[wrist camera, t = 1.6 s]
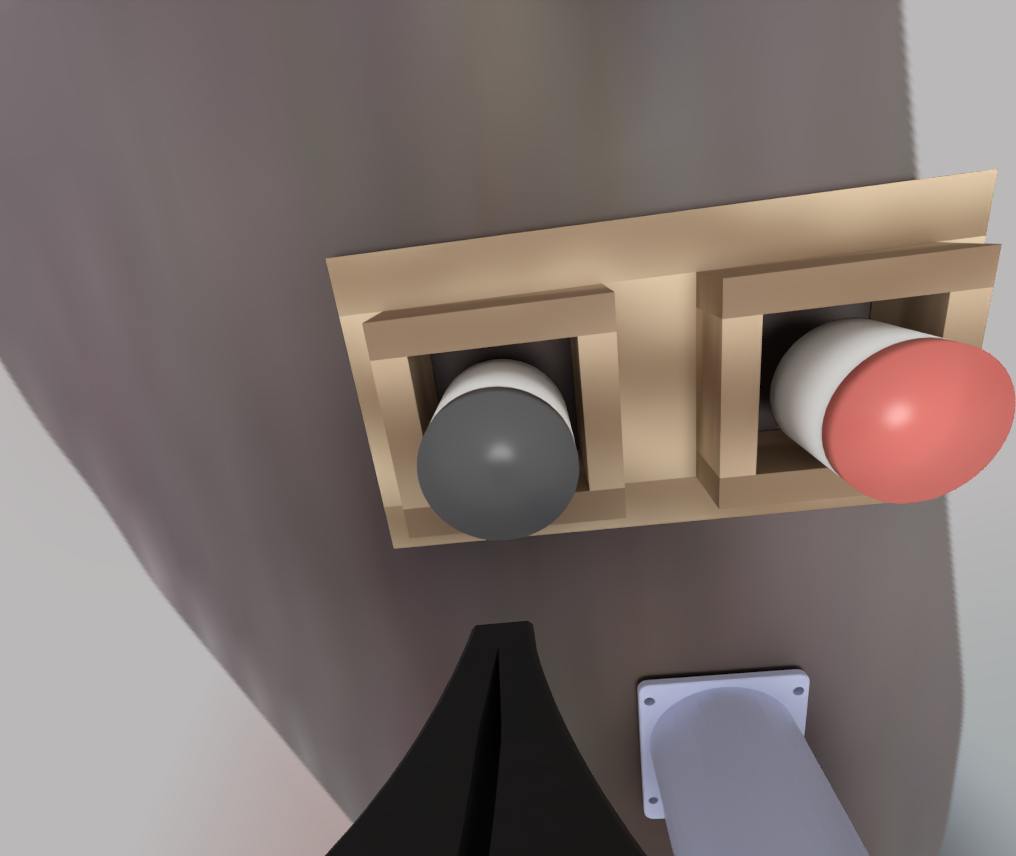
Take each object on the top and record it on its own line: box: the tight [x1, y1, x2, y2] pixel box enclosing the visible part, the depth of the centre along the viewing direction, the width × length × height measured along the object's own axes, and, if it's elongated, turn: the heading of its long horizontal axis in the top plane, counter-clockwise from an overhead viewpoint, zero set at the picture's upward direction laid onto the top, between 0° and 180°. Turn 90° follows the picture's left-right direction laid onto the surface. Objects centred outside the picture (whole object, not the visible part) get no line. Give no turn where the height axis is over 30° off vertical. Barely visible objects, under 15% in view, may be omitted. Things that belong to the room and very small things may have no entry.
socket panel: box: [326, 169, 1001, 549], centre depth 19 cm, size 12×22×4 cm, turn 97°
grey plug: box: [417, 359, 579, 541], centre depth 16 cm, size 4×4×4 cm
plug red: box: [770, 318, 1015, 503], centre depth 15 cm, size 4×4×4 cm
